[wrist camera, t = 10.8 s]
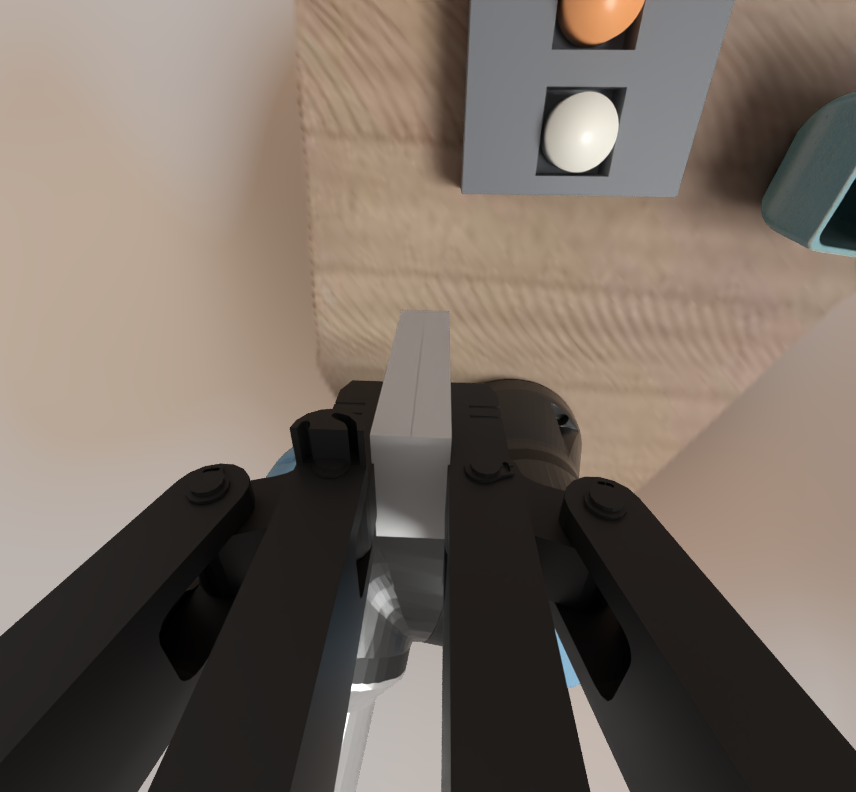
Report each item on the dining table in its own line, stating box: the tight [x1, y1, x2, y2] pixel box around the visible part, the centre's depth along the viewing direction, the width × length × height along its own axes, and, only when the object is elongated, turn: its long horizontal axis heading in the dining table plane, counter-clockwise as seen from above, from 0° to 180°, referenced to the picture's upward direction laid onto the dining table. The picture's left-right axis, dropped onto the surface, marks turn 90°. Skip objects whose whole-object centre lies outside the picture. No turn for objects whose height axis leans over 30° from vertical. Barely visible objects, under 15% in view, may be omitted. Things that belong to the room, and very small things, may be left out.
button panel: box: [461, 0, 734, 197], centre depth 26 cm, size 21×15×4 cm
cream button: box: [540, 91, 619, 172], centre depth 28 cm, size 4×4×3 cm
